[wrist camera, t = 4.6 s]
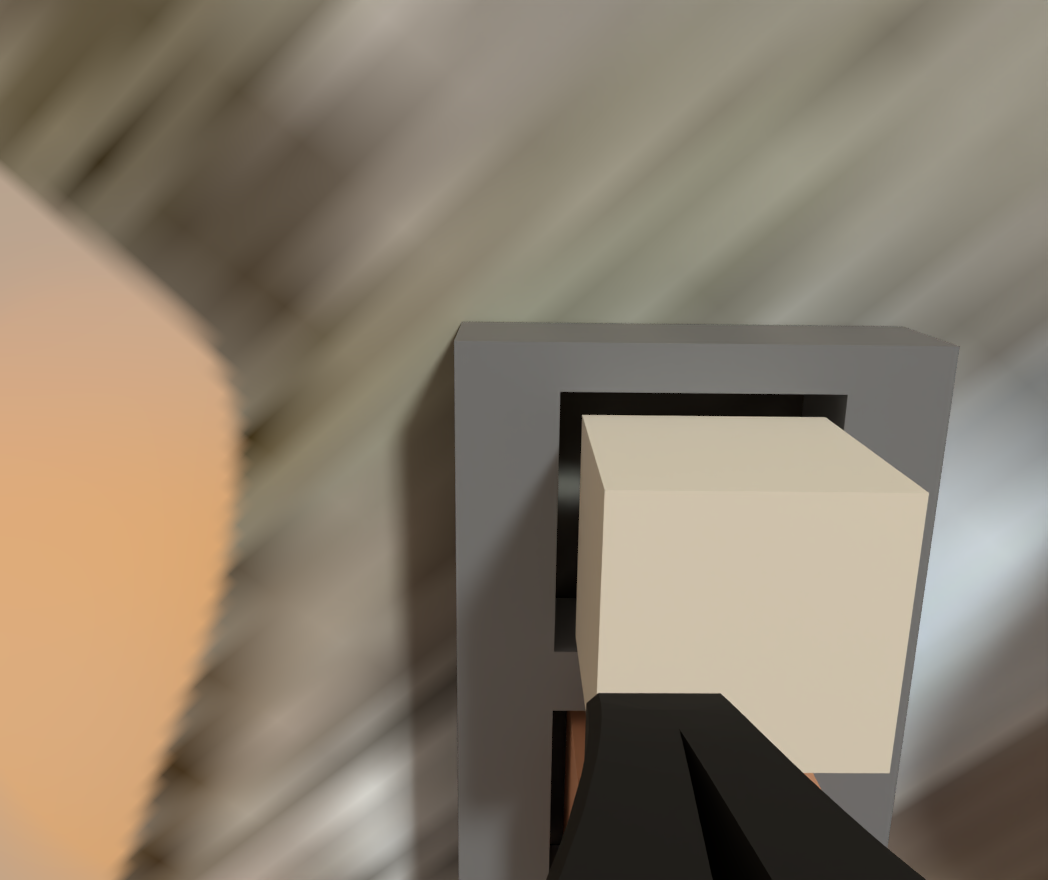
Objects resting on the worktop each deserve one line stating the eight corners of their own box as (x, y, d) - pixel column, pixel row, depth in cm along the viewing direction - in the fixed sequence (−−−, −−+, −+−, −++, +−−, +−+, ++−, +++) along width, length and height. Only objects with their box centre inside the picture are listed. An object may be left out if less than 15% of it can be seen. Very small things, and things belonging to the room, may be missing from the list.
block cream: (802, 637, 17) (889, 773, 13) (575, 636, 17) (594, 771, 13) (825, 417, 16) (929, 493, 12) (582, 415, 16) (604, 489, 12)
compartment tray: (807, 1081, 24) (839, 1178, 21) (466, 1082, 24) (461, 1178, 21) (903, 326, 18) (959, 346, 16) (462, 321, 18) (453, 341, 16)
